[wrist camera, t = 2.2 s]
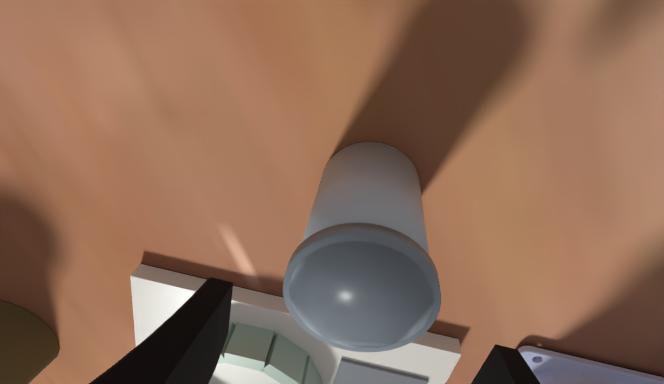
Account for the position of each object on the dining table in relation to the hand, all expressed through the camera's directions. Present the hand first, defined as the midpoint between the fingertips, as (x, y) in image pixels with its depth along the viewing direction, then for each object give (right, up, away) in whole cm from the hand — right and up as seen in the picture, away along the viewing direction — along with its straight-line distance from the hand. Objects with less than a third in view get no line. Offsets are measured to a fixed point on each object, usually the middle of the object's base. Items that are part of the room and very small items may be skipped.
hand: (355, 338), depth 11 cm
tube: (+1, +4, +7) cm, 8 cm away
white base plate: (-4, -7, +15) cm, 16 cm away
